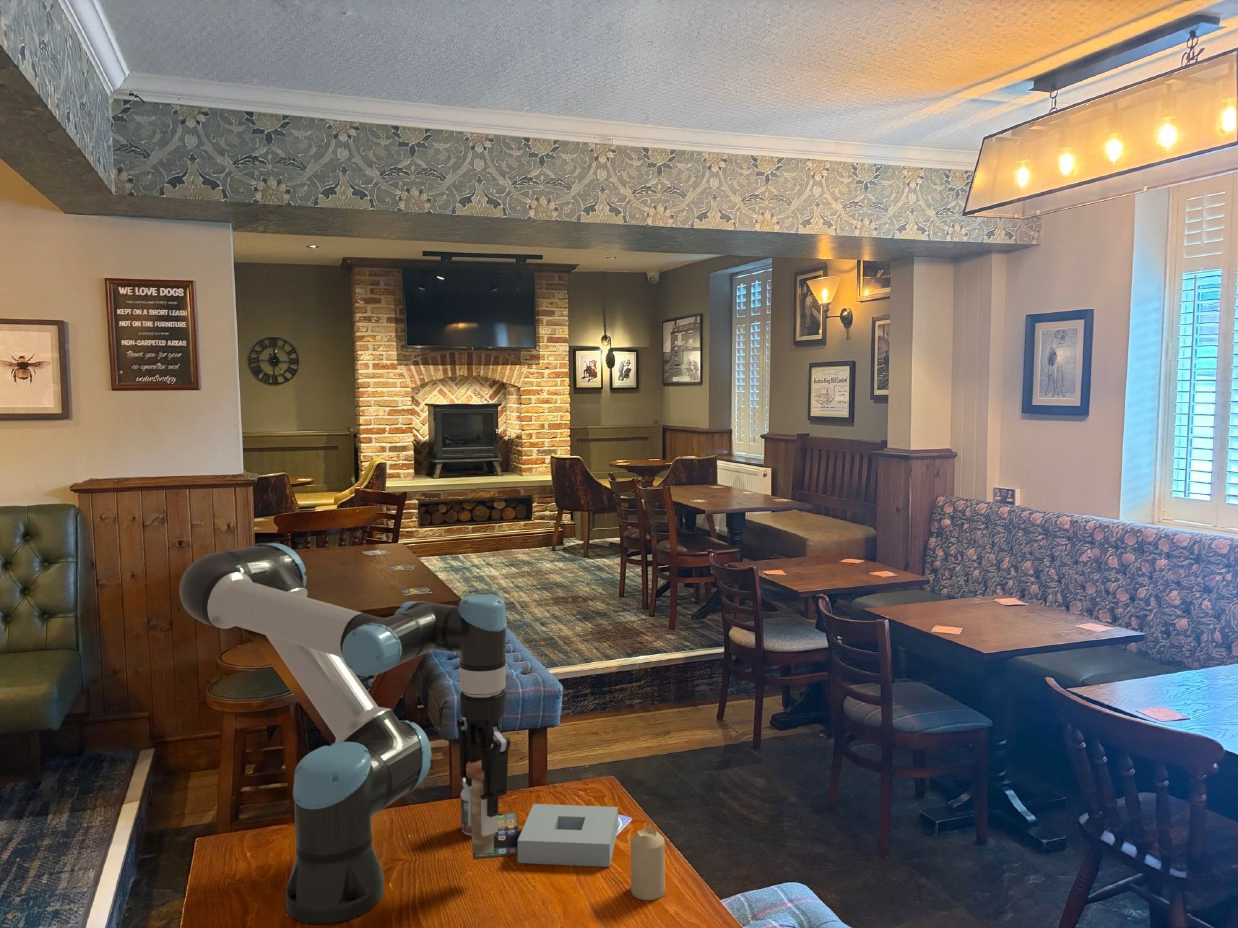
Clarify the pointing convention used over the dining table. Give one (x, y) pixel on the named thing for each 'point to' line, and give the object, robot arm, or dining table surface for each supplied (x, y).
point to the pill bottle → (465, 810)
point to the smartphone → (504, 837)
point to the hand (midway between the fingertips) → (482, 827)
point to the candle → (647, 864)
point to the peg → (478, 810)
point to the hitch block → (569, 835)
